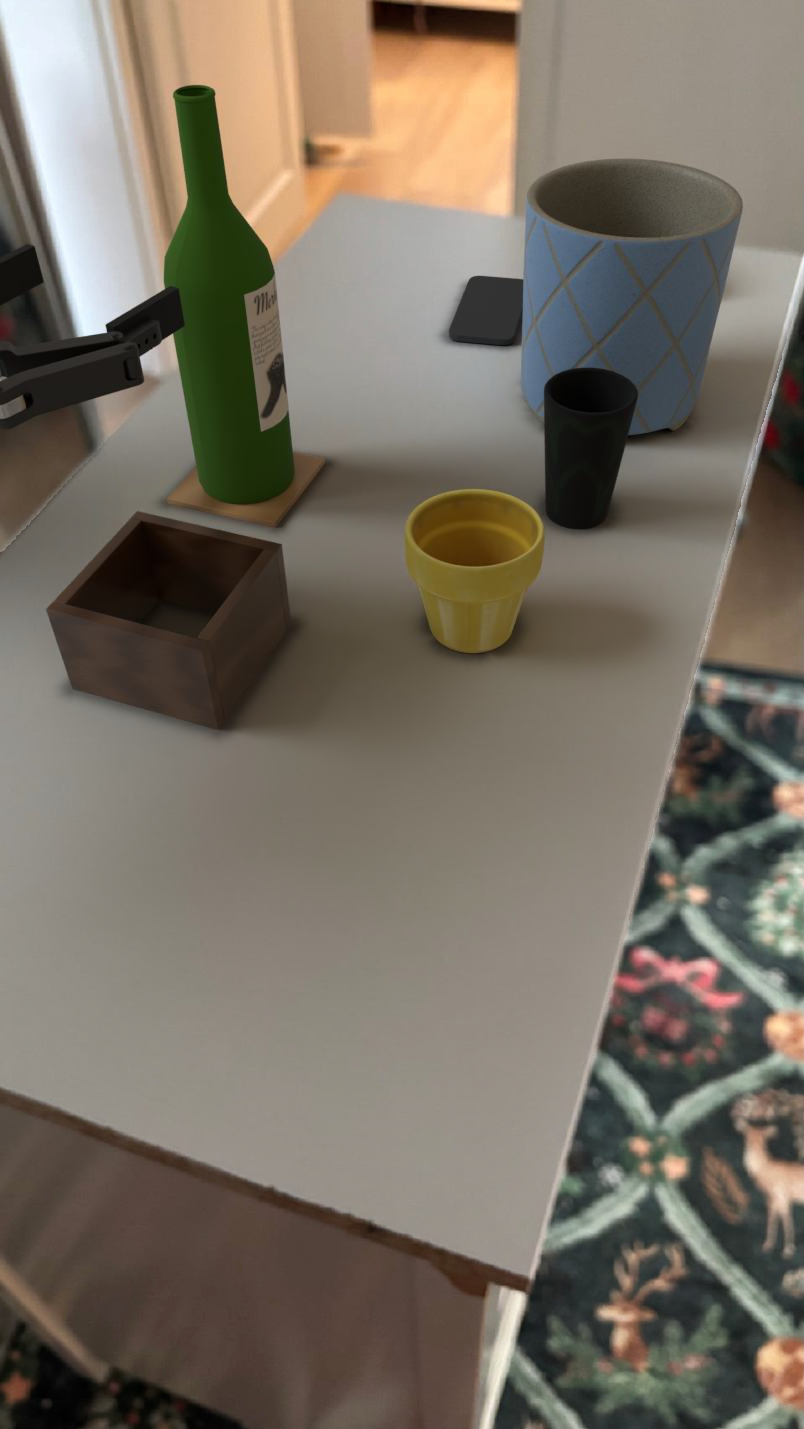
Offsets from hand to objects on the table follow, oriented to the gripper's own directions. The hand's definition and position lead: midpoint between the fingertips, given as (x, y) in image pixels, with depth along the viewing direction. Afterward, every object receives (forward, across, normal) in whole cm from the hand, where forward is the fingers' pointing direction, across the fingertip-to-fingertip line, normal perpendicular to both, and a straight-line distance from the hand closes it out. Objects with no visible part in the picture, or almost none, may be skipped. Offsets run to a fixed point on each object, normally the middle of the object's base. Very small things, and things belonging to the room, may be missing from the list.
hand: (104, 283), depth 77 cm
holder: (-10, +11, -24) cm, 28 cm away
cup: (+23, +29, -24) cm, 44 cm away
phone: (+53, +4, -24) cm, 58 cm away
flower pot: (+5, +28, -24) cm, 37 cm away
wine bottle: (+12, +1, -23) cm, 26 cm away
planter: (+42, +23, -24) cm, 54 cm away
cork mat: (+12, 0, -24) cm, 26 cm away
